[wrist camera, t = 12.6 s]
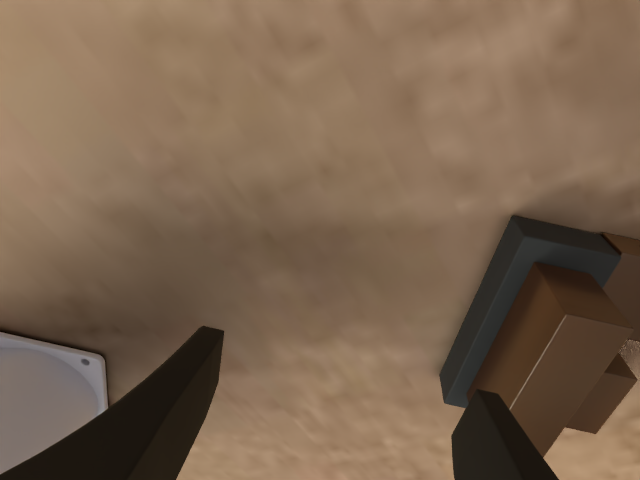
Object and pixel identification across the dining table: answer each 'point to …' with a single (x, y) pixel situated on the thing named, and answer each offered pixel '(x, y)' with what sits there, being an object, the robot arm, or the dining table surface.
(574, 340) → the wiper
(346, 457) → the dining table surface
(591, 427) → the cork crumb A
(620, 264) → the brown flat block
